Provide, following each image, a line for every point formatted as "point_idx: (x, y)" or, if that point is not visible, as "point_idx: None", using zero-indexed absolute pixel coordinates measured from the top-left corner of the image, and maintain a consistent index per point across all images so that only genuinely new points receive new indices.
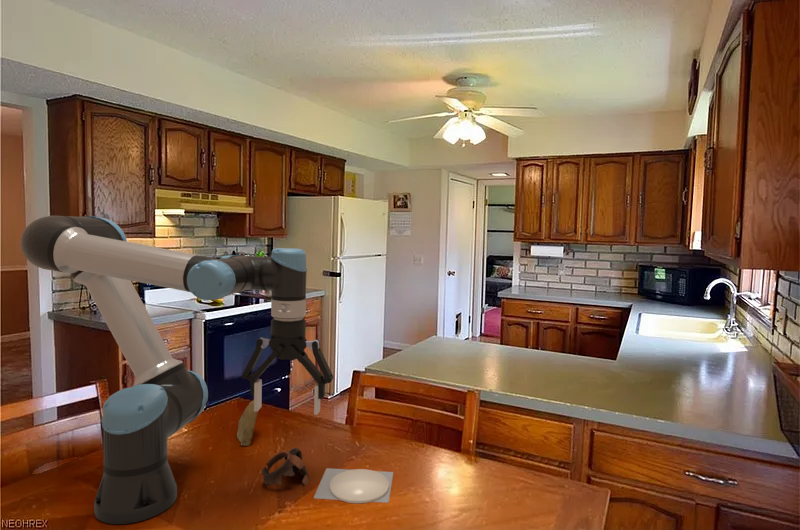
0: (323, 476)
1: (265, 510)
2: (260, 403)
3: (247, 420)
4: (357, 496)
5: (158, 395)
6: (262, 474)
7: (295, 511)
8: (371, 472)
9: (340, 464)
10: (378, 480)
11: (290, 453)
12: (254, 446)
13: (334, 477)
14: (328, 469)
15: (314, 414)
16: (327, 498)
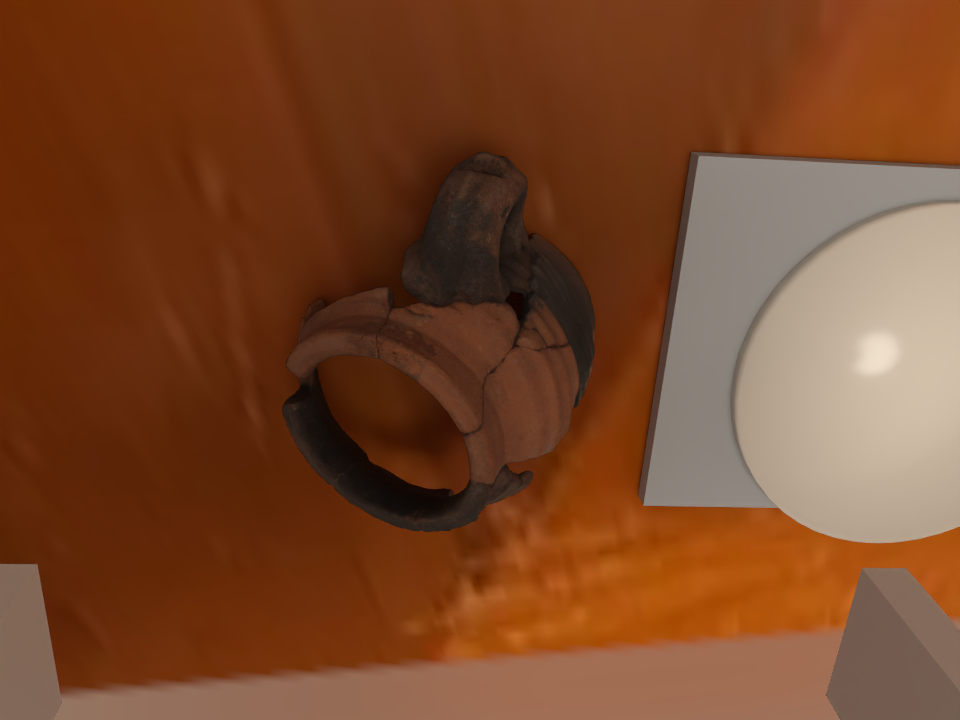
0: (684, 274)
1: (403, 579)
2: (11, 653)
3: None
4: (893, 514)
5: None
6: (303, 453)
7: (558, 574)
8: None
9: (793, 28)
10: None
11: (453, 291)
12: None
13: (767, 332)
14: (714, 174)
15: (831, 695)
16: (721, 501)
